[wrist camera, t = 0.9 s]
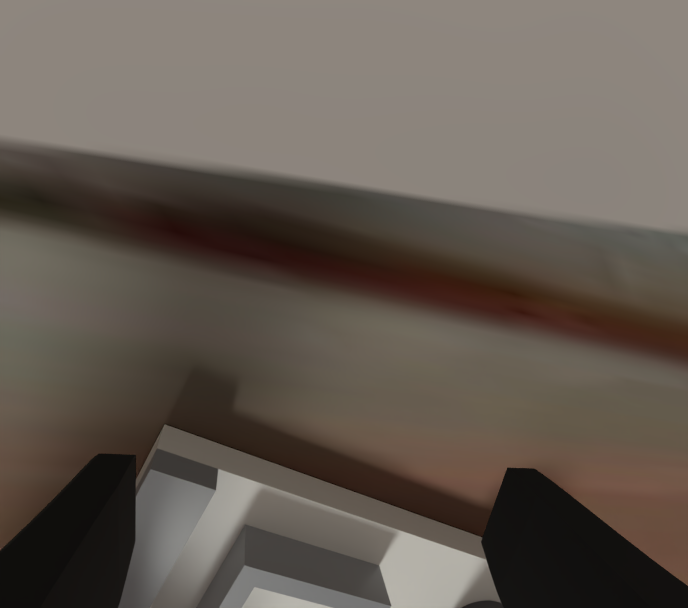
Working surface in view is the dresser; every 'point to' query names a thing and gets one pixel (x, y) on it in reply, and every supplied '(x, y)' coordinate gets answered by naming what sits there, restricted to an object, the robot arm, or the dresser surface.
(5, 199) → the dresser surface
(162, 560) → the white tray
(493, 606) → the plug
